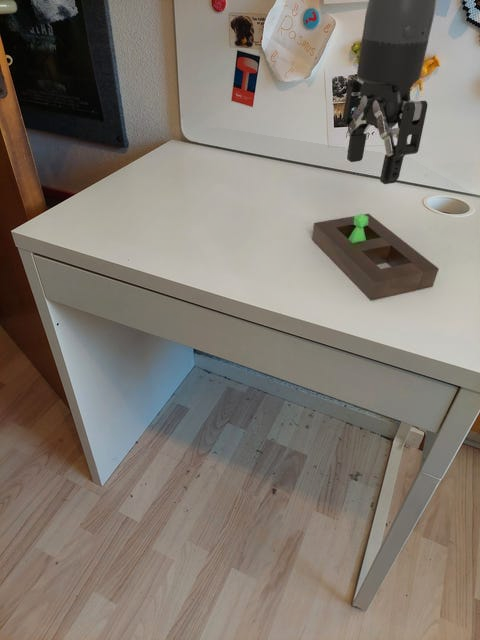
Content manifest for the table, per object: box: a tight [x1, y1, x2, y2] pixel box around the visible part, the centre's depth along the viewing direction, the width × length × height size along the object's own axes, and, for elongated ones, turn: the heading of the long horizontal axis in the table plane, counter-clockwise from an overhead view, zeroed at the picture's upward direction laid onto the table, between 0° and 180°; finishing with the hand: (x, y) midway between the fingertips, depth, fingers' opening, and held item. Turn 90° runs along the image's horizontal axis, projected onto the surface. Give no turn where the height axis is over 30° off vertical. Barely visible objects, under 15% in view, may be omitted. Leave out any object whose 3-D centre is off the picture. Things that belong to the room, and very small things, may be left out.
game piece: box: [348, 213, 368, 243], centre depth 69 cm, size 4×4×6 cm
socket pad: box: [311, 213, 439, 302], centre depth 67 cm, size 10×18×3 cm, turn 20°
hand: (370, 171), depth 63 cm, fingers open, 8 cm apart
